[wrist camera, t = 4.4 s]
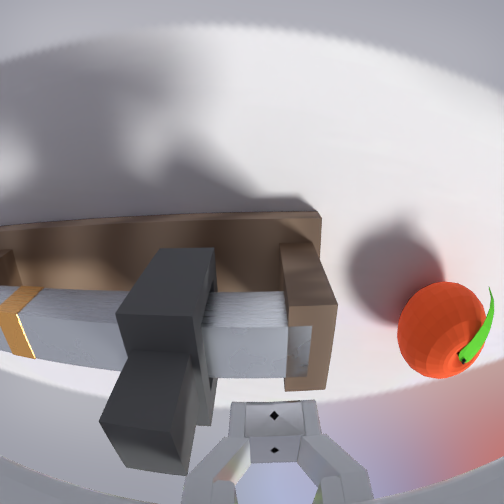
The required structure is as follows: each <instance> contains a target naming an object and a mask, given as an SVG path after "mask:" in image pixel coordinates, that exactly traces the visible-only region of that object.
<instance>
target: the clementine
mask: <svg viewBox="0 0 504 504" xmlns="http://www.w3.org/2000/svg"><path fill="white" fill-rule="evenodd" d="M489 291H490V295H491V303H490V309H489V312H488V314H487V317H486V315H485V311H484V308H483V305H482V304H481V302H480V301H479V299H478V298H477V297H476V295H475V294H474V293H473V292H472V291H471V290H469V289H468V288H466V287H464V286H462V285H460V284H458V283H452V282H444V281H443V282H437V283H433V284H431V285H429V286H426V287H424V288H422V289H421V290H419V291H418V292H416V293H415V294H414V295H413V296H412V297H411V298H410V299H409V301H408V303H407V304H406V306H405V307H404V309H403V311H402V313H401V316H400V318H399V322H398V332H397V339H398V344H399V348H400V351H401V354H402V356H403V357H404V359H405V361H406V362H407V363H408V364H409V366H410V367H411V368H412V369H414V370H415V371H417V372H418V373H420V374H422V375H423V376H426V377H431V378H438V379H441V378H448V377H451V376H454V375H457V374H459V373H461V372H463V371H464V370H466V369H467V368H468V367H469V366H471V365H472V364H473V362H474V361H475V360H476V359H477V357H478V356H479V354H480V352H481V350H482V348H483V346H484V343H485V340H486V338H487V336H488V333H489V331H490V328H491V324H492V320H493V315H494V299H493V296H492V293H491V290H490V287H489Z"/></svg>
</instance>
